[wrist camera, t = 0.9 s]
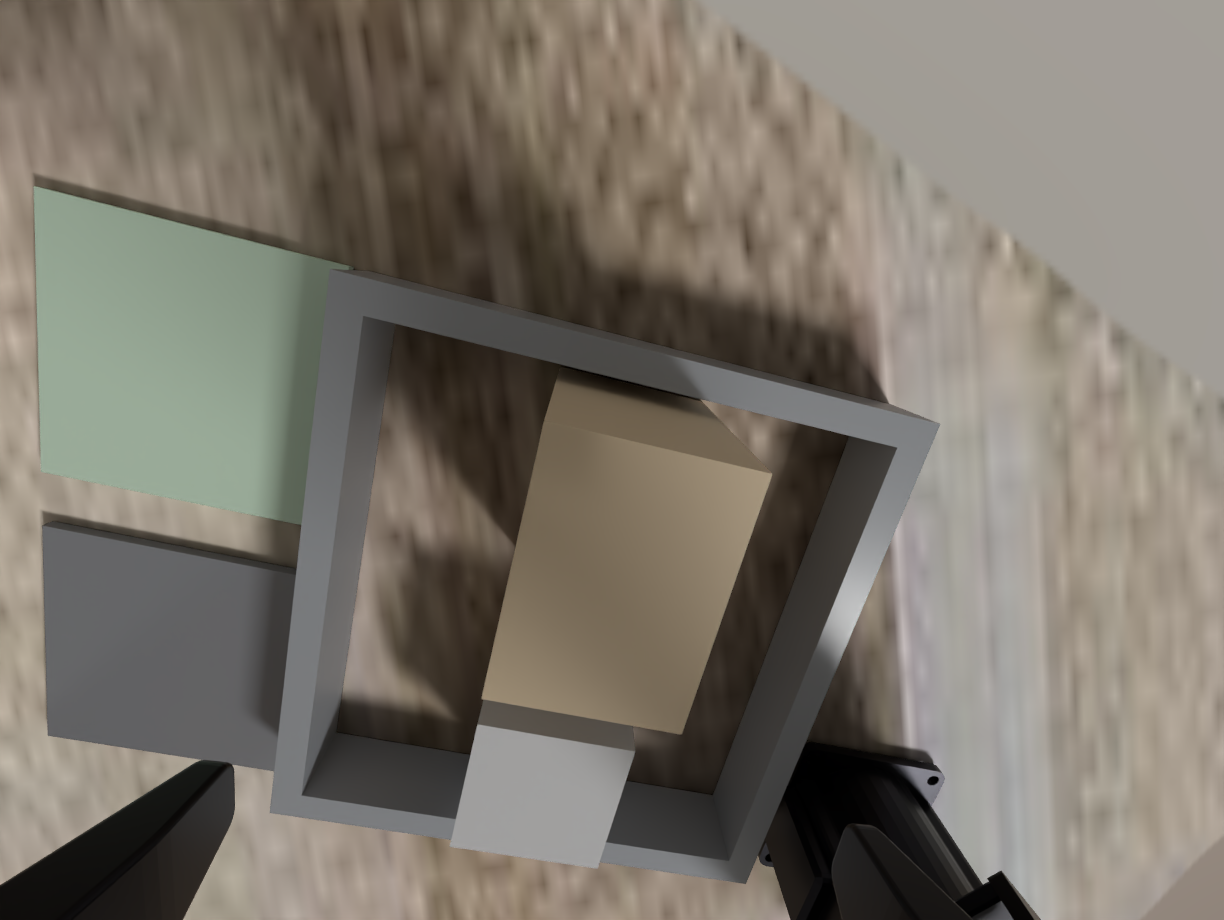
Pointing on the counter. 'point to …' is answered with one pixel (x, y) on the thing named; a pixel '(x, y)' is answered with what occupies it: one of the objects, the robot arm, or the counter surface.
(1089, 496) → the counter surface
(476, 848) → the grey box
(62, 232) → the green mat
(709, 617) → the kraft box
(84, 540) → the slate coaster
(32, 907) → the robot arm
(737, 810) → the grey bin
